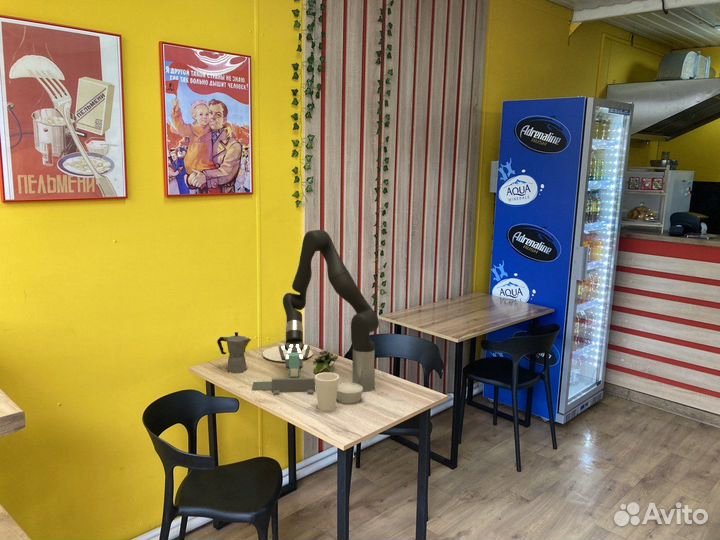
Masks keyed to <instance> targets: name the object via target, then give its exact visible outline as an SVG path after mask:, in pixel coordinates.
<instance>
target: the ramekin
mask: <svg viewBox="0 0 720 540" xmlns="http://www.w3.org/2000/svg"><path fill="white" fill-rule="evenodd" d="M362 391H363V387H362V386H360V385H358V384H355V383H352V382H342V383H339V384H338V390H337V397H336V401H338V402H339V403H342V404H344V405H345V404H347V405H351V404H356V403H357V404H358V403H359V402H360V400H361V399H362V393H363V392H362Z"/></svg>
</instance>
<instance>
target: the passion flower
mask: <svg viewBox="0 0 720 540" xmlns="http://www.w3.org/2000/svg"><path fill="white" fill-rule="evenodd" d="M319 354H320V355H318V356H317V357H316V358H314V360H313V361H312V363H313V364H312V366H315V367H314V369H313V373H314V374H315V373H317V372H318V373H321V371H323V370H325V369H327V370H328V371H329V372H330V373H332V371H333V367H334V364H335V363H336V361H337V360H338V358H339V357H338V356H339V355H337V354H335V355H334V353H332V352H330V351H328V350H323V351H319ZM332 362H333V363H332ZM331 363H332V364H331ZM330 364H331V365H330Z"/></svg>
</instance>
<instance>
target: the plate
mask: <svg viewBox="0 0 720 540" xmlns="http://www.w3.org/2000/svg"><path fill="white" fill-rule="evenodd" d="M279 346H281V347H282V346H285V344H284V345H278V346H277V345H276V346H273V347H268V348H267V349H265V350H263V352H262V356H263V358H264V359H267V360H269V361H273V362H280V363H286V361H285V360H282V359H281V355H280V352H279ZM305 352H306V351H305V349H304V348H303V350H302V351H301V354H302V356H304V355H305ZM313 353H314V352H313V351H312V350H311V349H310V350H309V354H308V357H307V359H309V358H311V357H312V356H313ZM283 354H284V356H285V357H286V356H287V350H286V349H284V351H283Z"/></svg>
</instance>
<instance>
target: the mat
mask: <svg viewBox="0 0 720 540" xmlns="http://www.w3.org/2000/svg"><path fill="white" fill-rule="evenodd" d="M252 390H254V391H255V390H262V391H272V381H253V382H252V387H251V391H252ZM254 391H253V392H254Z"/></svg>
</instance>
